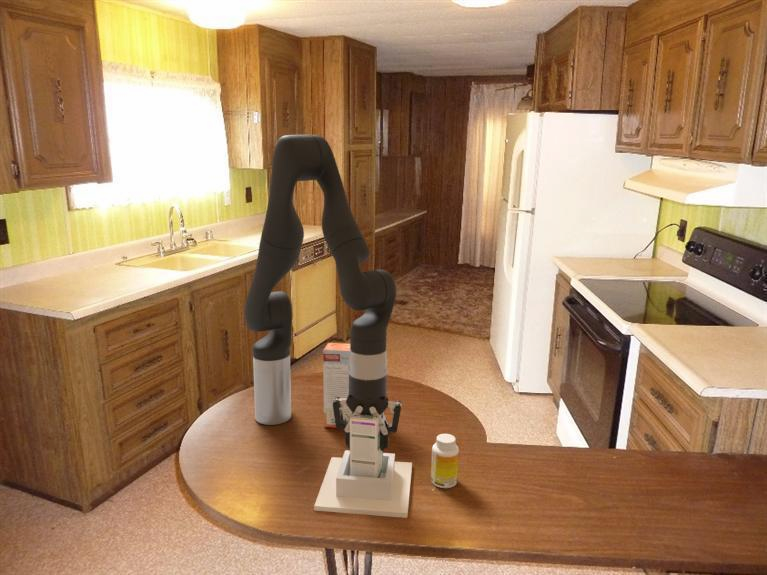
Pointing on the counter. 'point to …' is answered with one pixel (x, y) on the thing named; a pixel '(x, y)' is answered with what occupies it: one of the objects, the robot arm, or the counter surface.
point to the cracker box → (335, 380)
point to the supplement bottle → (444, 461)
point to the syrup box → (365, 446)
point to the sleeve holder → (366, 489)
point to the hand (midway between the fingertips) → (366, 447)
